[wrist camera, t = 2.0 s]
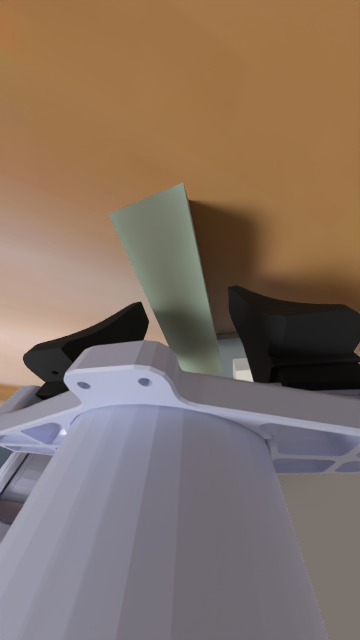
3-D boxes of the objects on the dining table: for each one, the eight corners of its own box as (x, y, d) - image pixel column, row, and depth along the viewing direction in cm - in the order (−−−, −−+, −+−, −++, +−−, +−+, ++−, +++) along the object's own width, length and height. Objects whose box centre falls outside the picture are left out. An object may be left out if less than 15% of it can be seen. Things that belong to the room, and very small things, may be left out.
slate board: (200, 402, 31) (201, 407, 30) (183, 338, 21) (183, 343, 20) (262, 400, 28) (264, 406, 28) (274, 328, 19) (278, 333, 18)
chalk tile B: (233, 375, 23) (236, 387, 22) (232, 359, 21) (236, 370, 20) (260, 374, 23) (265, 386, 21) (262, 356, 20) (268, 368, 19)
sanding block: (186, 332, 21) (182, 376, 15) (145, 216, 13) (108, 214, 8) (214, 327, 20) (223, 372, 14) (188, 199, 12) (183, 182, 7)
